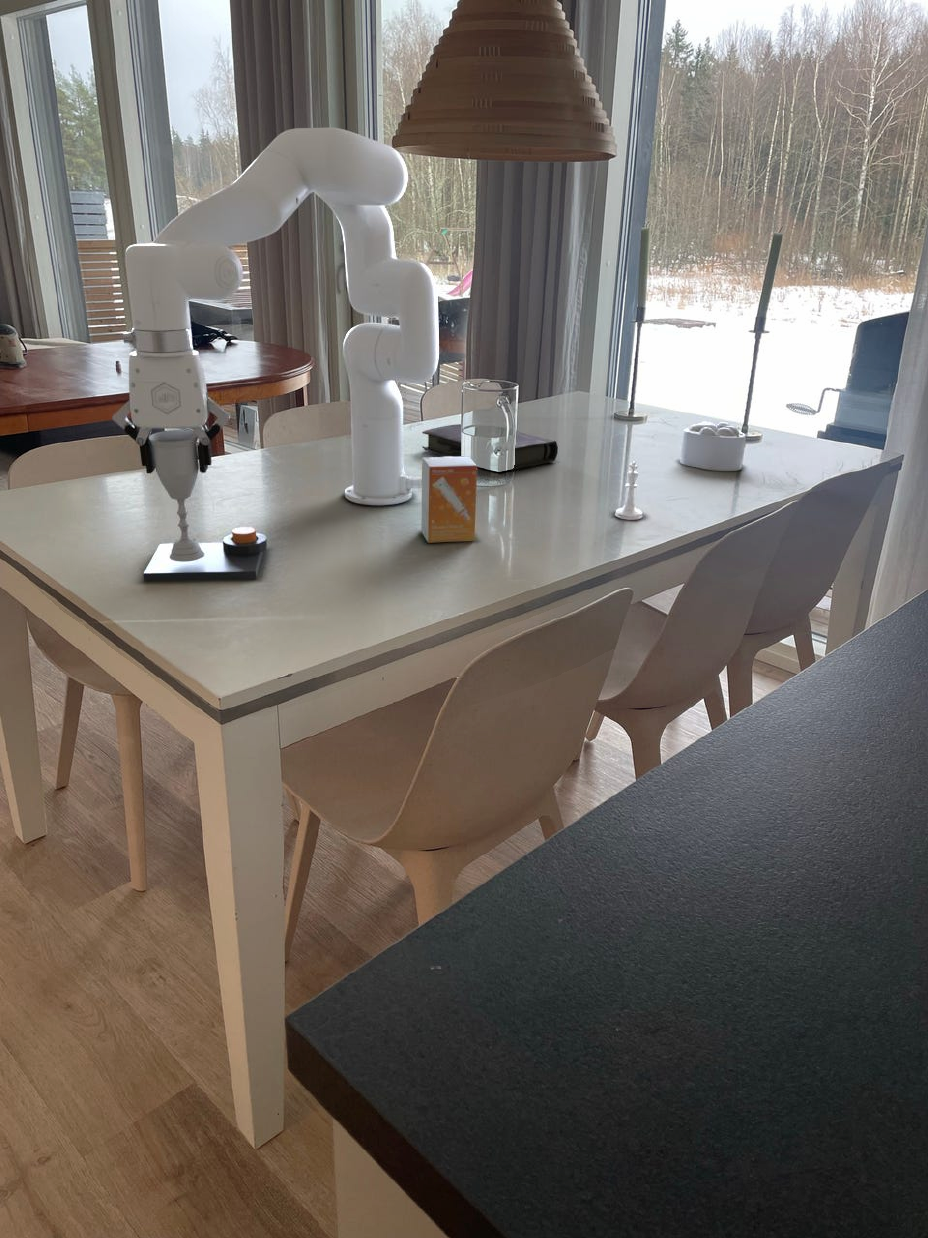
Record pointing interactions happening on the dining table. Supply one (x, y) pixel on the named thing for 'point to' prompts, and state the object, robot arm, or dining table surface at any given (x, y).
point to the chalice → (178, 482)
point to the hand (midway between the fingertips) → (177, 469)
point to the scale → (209, 562)
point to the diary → (526, 447)
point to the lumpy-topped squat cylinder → (713, 447)
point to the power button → (244, 535)
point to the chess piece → (630, 498)
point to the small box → (449, 499)
